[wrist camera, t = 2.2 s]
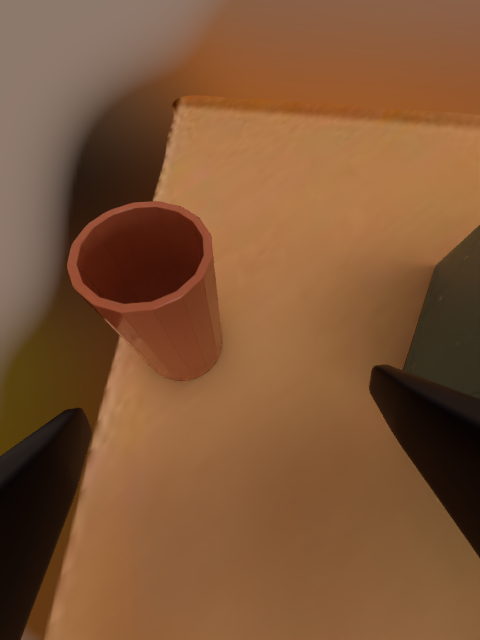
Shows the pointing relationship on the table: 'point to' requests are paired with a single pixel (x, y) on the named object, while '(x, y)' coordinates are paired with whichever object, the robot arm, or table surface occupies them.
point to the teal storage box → (451, 322)
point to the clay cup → (153, 284)
